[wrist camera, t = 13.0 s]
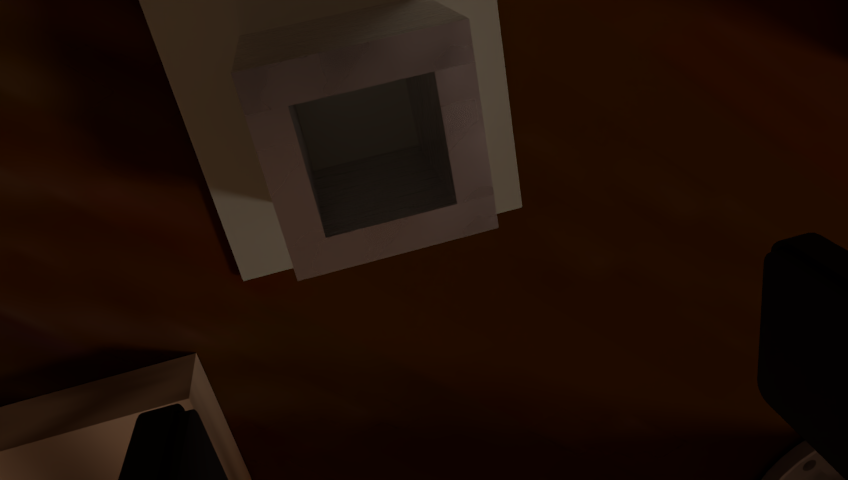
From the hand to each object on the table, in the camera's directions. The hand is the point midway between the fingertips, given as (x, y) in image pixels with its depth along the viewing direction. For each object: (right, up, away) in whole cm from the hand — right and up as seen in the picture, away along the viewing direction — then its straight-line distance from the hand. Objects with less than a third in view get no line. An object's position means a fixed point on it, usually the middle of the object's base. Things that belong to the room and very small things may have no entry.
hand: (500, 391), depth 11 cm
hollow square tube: (-4, +7, +14) cm, 16 cm away
